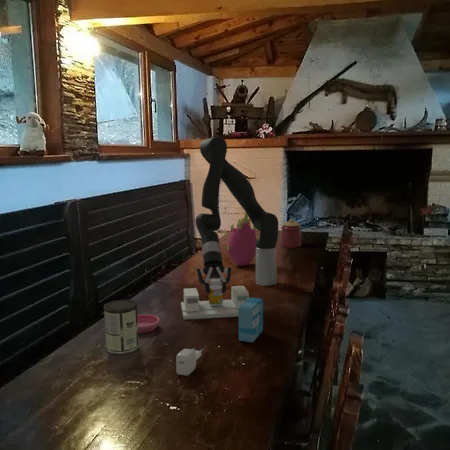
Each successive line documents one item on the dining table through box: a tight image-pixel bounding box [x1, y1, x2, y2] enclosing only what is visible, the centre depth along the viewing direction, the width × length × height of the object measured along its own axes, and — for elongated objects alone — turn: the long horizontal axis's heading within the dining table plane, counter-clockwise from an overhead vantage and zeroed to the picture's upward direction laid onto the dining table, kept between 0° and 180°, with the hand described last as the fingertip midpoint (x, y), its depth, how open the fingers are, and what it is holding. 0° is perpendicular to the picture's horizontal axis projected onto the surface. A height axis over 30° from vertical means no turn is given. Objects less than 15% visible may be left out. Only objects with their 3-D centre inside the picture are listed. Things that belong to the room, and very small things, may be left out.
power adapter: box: [175, 347, 204, 377], centre depth 138 cm, size 11×5×6 cm, turn 159°
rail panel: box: [180, 285, 250, 321], centre depth 187 cm, size 26×16×8 cm, turn 99°
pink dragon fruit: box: [226, 212, 259, 267], centre depth 257 cm, size 18×14×30 cm
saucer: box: [137, 313, 161, 334], centre depth 169 cm, size 12×12×3 cm
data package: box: [238, 296, 264, 344], centre depth 160 cm, size 12×4×12 cm, turn 158°
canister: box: [280, 218, 302, 249], centre depth 310 cm, size 13×13×18 cm
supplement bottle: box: [208, 278, 224, 306], centre depth 186 cm, size 5×5×10 cm
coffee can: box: [103, 299, 140, 355], centre depth 152 cm, size 10×10×14 cm
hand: (216, 292), depth 185 cm, fingers closed on supplement bottle, 5 cm apart
